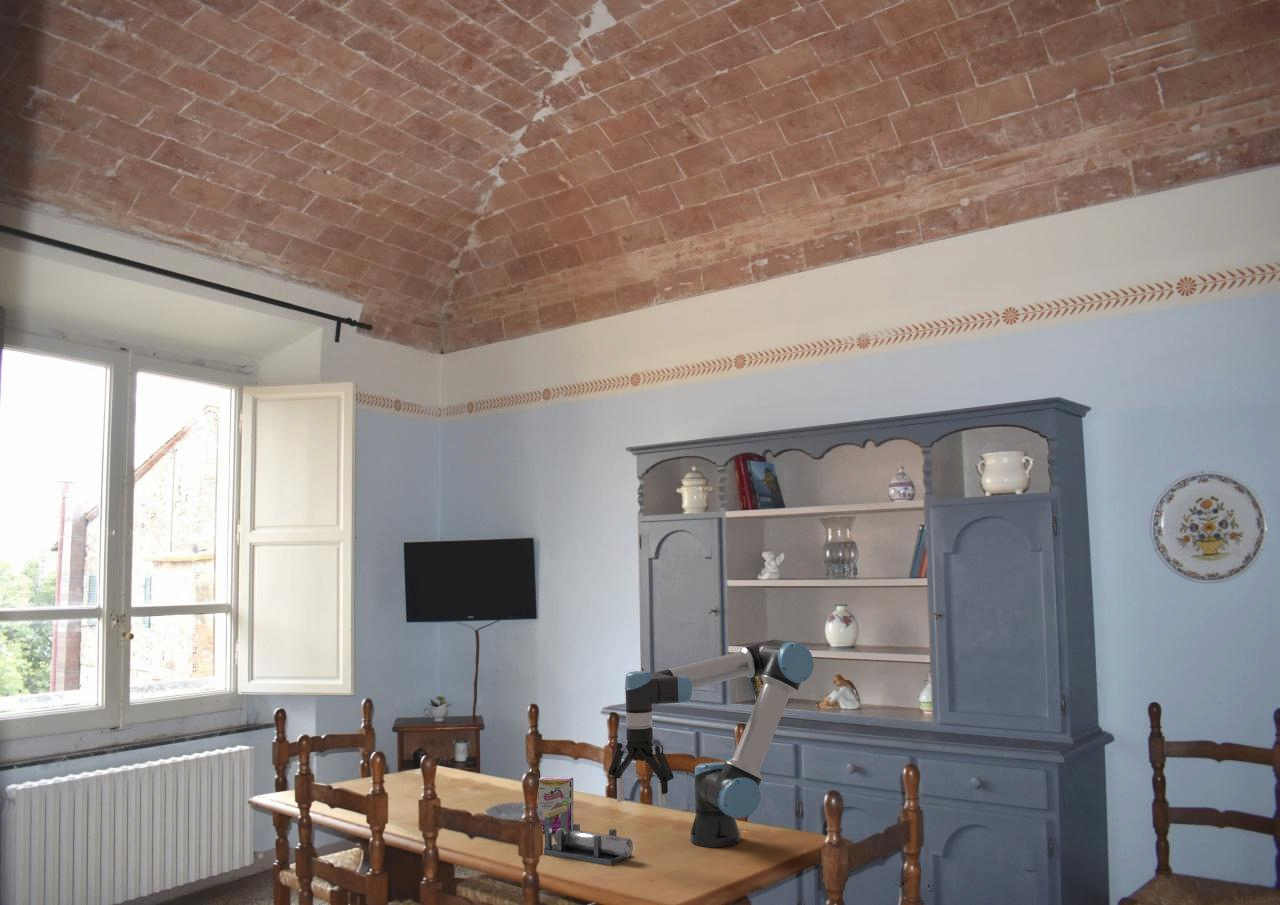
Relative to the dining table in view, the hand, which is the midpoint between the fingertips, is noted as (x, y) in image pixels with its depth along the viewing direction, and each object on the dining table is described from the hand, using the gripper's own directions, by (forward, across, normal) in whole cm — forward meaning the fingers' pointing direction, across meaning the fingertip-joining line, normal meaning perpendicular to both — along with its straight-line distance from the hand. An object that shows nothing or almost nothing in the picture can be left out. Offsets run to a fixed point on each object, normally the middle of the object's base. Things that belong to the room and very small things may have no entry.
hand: (641, 803), depth 288 cm
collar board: (+16, +19, 0) cm, 25 cm away
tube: (+15, +16, +1) cm, 22 cm away
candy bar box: (+17, +43, -18) cm, 50 cm away
